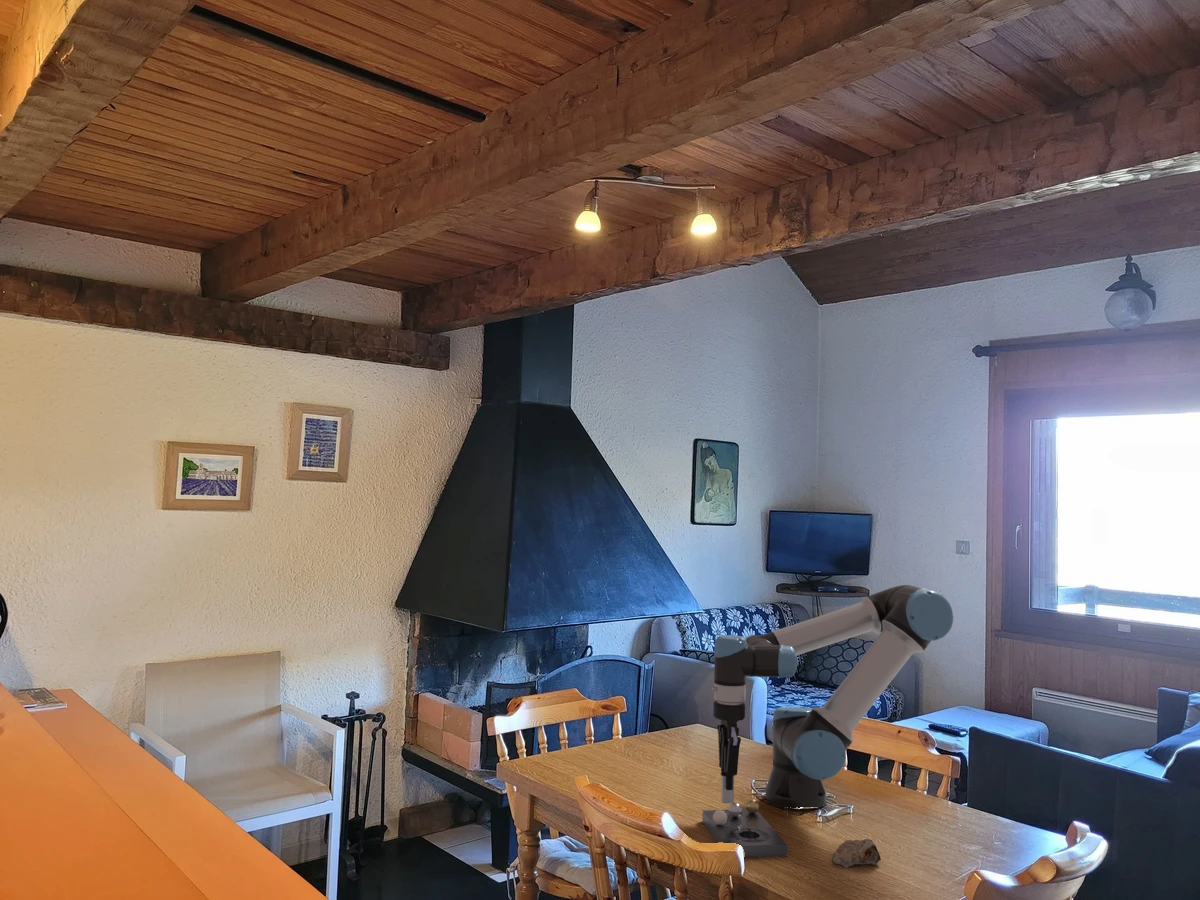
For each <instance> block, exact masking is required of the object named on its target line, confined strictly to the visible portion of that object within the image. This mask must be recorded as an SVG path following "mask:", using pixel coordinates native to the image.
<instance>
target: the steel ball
mask: <svg viewBox="0 0 1200 900" xmlns="http://www.w3.org/2000/svg"><path fill="white" fill-rule="evenodd" d="M729 804H730V805H729V806H728V809H727V810H728V811H729V814H730V815H731V816H732V817H735V818H737V817H739V816H740V815H741V814H742V809H743V807H742V806H741V804H740V803H738V802H734V803H729Z"/></svg>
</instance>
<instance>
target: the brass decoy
mask: <svg viewBox="0 0 1200 900" xmlns="http://www.w3.org/2000/svg"><path fill="white" fill-rule="evenodd" d="M744 806H745V809H746V810H747V811H748V812H749V813H756V812H757V811H758V812H759V809H760V804H759V802H758V801H757V800H756V799H755V798H749V799H747V800H746V802H745V804H744Z"/></svg>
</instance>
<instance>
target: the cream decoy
mask: <svg viewBox="0 0 1200 900" xmlns="http://www.w3.org/2000/svg"><path fill="white" fill-rule="evenodd" d="M716 810H717V811H715V813H714V814H713V820H714V822H715V823H716V824H718V825H723V824H725V823H726V821H727V814H726V813H725V812H724V811H723V810H724V809H716Z"/></svg>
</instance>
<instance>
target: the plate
mask: <svg viewBox="0 0 1200 900" xmlns="http://www.w3.org/2000/svg"><path fill="white" fill-rule="evenodd" d="M717 810H718V809H710V810H709V809H707V810H706V809H704V810H703V809H702V813H701V814H702V823H703V824H704V826H705V827H706V829H707V830H708V832H709V833H710V835H711V836H712V838H713V839H714V841H715V842H716V843H717V842H723V843H736V844H739V845H741V846H742V847H743V849H744V852H745V857H746V858H745V859H749V858H751V859H752V858H781V857H782V858H783V857H784V858H785V857H788V844H787V843H786V841H784V839H783V838H782V836H780V834H778V833H777V831H776V830H775V829H774V828H773V827H772V826H771V824H770V823H769V822H768V821H767V820H766V819H765V817H763V815H762V814H761V813H760V812H759V810H758V811H757V812H756V813H749V812H748V811H747V810H746V808H745V809H743V808H742V814H741V815H740V816H739V817H737V818H735V817H732V816H731V815H730V814H729V811H728V809H722V810H723V811H724V812H725V813H726V814H727V821H726V823H725V824H723V825H718V824H716V823H715V822H714V820H713V814H714V813H715V811H717Z"/></svg>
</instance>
